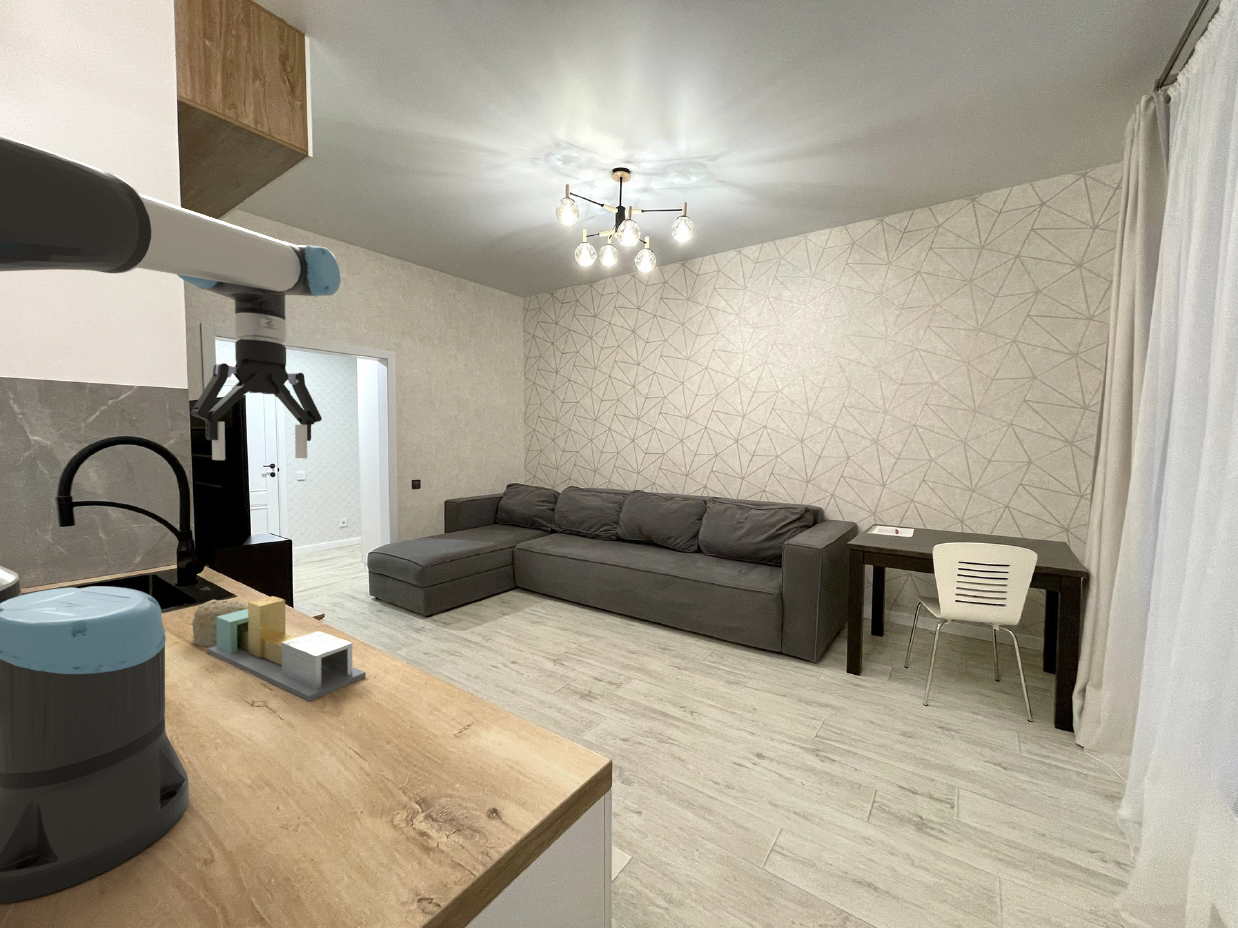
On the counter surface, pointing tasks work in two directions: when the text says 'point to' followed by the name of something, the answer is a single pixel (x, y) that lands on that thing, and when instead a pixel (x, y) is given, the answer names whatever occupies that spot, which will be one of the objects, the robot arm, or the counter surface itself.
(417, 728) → the counter surface
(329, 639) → the grey rectangular sleeve
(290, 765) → the counter surface
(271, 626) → the gold stepped block
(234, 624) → the socket
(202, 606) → the sponge
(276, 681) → the slate board
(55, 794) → the robot arm
